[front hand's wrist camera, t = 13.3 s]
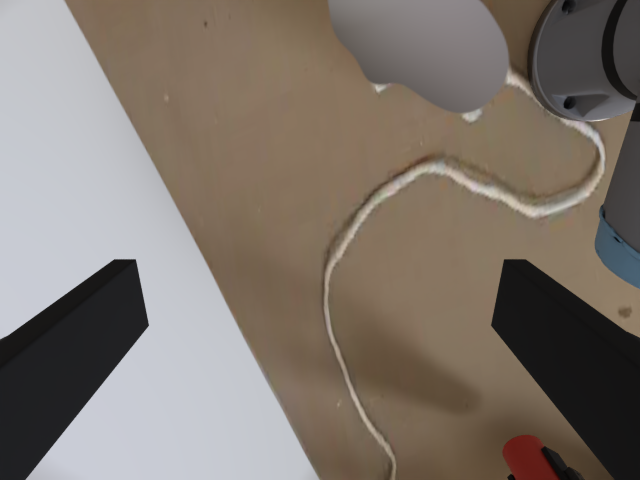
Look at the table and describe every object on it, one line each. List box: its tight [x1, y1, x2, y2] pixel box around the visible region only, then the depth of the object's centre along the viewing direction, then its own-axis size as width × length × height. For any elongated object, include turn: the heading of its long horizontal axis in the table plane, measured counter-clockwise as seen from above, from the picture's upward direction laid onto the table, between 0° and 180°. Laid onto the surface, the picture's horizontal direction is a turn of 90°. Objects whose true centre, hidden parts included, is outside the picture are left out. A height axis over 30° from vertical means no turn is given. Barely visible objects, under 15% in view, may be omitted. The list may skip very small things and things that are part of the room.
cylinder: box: [502, 435, 560, 480], centre depth 49 cm, size 6×6×9 cm
